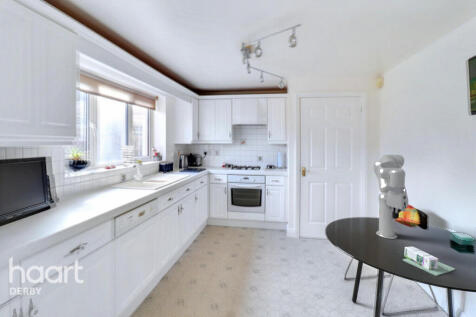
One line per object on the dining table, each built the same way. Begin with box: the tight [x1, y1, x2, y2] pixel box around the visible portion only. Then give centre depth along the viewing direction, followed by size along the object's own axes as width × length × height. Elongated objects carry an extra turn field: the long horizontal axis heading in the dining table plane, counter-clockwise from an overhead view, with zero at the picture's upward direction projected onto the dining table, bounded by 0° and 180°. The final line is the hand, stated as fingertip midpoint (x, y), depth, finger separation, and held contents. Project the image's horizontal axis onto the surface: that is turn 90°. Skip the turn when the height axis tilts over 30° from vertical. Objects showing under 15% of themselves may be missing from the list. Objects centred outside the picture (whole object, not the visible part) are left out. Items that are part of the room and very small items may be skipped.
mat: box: [402, 258, 456, 277], centre depth 119 cm, size 16×16×1 cm
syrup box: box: [404, 246, 439, 270], centre depth 120 cm, size 6×6×14 cm
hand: (395, 218), depth 136 cm, fingers closed
